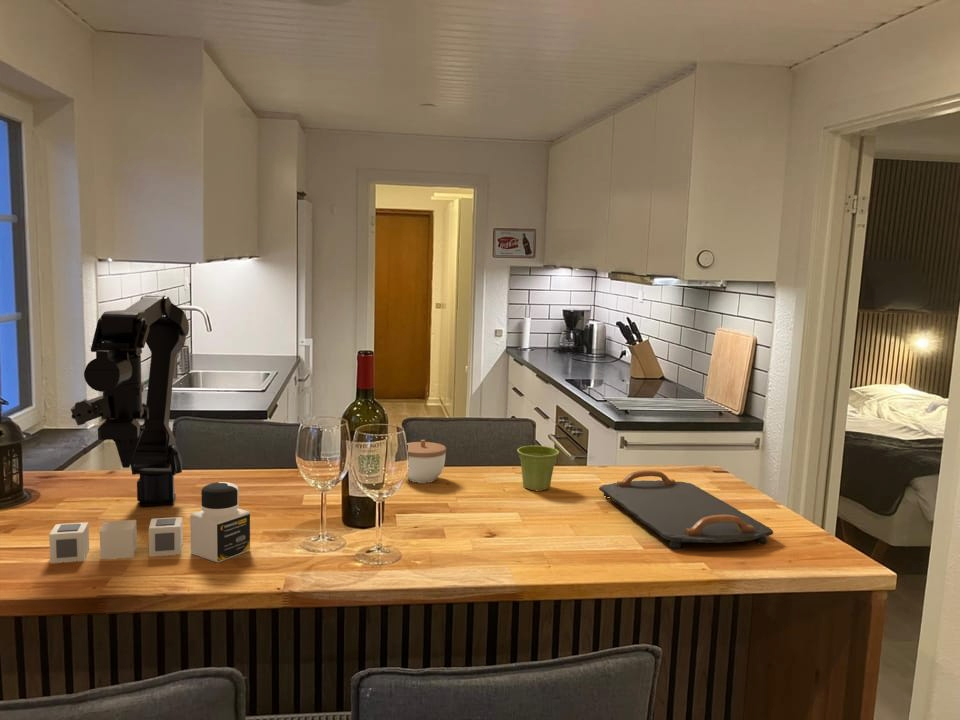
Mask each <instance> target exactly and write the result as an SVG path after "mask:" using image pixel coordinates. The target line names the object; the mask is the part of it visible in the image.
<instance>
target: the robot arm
mask: <svg viewBox="0 0 960 720" xmlns="http://www.w3.org/2000/svg"><path fill="white" fill-rule="evenodd" d="M189 330H190V324H189V320H188V318H187V315H186V313H185V311H184V310H183V309H182V308H180V307H179V306H177V305H176V304H174V303H173V302H172V300H171V299H170V297H169V296H166V295H163V294H161V295H159V294H157V295H156V294H155V295H154V294H145V295H142V296H141V297H140V299H139V300H137V301H136V302H135V303H132V304H131V305H130V306H129V307H127V308H125V309H122V310H108V311H104V312H102V314H101V316H100V317H99V318H98V320H97V322H96V326H95V330H94V334H93V339H92V342H91V347H90V352H91V353H95V358H93V359H92V360H90V361H89V362H88V363H87V365H85V366H86V367H85V369H84V371H83V377H84V380H85V382H86V385H88V386H89V387H90V388H91V389H92V390H94V391H96V392H101V393H102V395H100V396H96V397H94V398H90V399H88V400H87V399H86V398H84V399H83V400H80V401H76V402H75V403H74V405H73V406H72V407H71V408H70V411H71V418H72V419H73V420H75V423H76V425H77V426H82V425H85V423H87V422H90V421H93V420H95V419H99V418H101V417H102V419H103V420H104V421H103V422H102V423H101V424H100V425H99V426H98V428H97V440H100V441H107V440H108V441H109V440H111V441H113V442H114V444H115V446H116V450H117V454H118V456H119V461H120V463H121V466H122V468H123V469H126V468H127V469H128V468H130V469H131V474H132V475H133V476H135V475H139V478H138V479H137V481H136V501H137V502H138V506H139V507H155V506H171V505H174V504H175V500H176V496H177V494H176V492H175V476H176V475H177V474H180V473H182V472H183V458H182V455H181V454H180V451H179V449H178V446H177V444H176V442H177V441H176V437H175V435H174V433H173V431H172V430H171V428H170V415H171V414H170V413H171V406H172V405H171V403H172V392H173V384H174V383H173V382H174V372H175V363H176V356H177V355H178V354H179V353H180V351H182V349H183V348H184V347H185V344H186V337H187V336H188V335H189V332H190V331H189ZM145 345H147V347H148V349H149V351H150V353H151V354H150V364H149V371H148V372H149V373H148V374H149V375H148V384H147V391H146V392H147V393H146V402H145V403H144V402H143V394H142V393H143V392H144V385H143V384H142V353H143V349H144V348H145ZM141 418H143V420H144V421H143V423H142V424H141V423H140V422H139V420H138V419H141Z"/></svg>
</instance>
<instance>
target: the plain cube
mask: <svg viewBox="0 0 960 720" xmlns="http://www.w3.org/2000/svg"><path fill="white" fill-rule="evenodd" d="M137 539H138V537H137V519H124V520H123V519H122V520H109V521H104V522H103V524H102V526H101V528H100V530H99V550H100V551H99V555H100V557H99V558H100V561H102V560H101V559H107V560H117V558H121V559H131V558H132V559H134V557H133V556H135V553H136V550H137V547H138V545H137V544H138V541H137ZM114 558H115V559H114Z"/></svg>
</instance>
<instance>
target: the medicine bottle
mask: <svg viewBox="0 0 960 720" xmlns="http://www.w3.org/2000/svg"><path fill="white" fill-rule="evenodd" d="M200 492H201V510H198V511H196V512H193V513H191V514H190V515H189V525H190V527H189V528H190V529H189V530H190V531H189V533H190V536H189V538H190V555H191V554H192V555H193V556H197V557H199V558H202V559H205V560H208V561H212V562H215V563H221V562H224V561H226V560H229V559H232V558H235V557H238V556H240V555H242V554H245V553H248V552H250V551H251V512H250V511H249V510H244V509H241V508H239V507H240V506H239V502H240V501H239V500H240V499H239V498H240V497H239V496H240V495H239V494H240V493H239V492H240V491H239V487H238V486H237V484H235V483H232V482H227V481H218V482H212V483H209V484H207V485H205V486H203V487H202V488H201V491H200Z"/></svg>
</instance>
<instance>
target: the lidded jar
mask: <svg viewBox="0 0 960 720" xmlns="http://www.w3.org/2000/svg"><path fill="white" fill-rule="evenodd" d="M407 445H408V453H409V471H408V475H407V476H406V477H407V478H408V481H409V480H410V481H409V482H411V481H412V482H411V483H414V482H418V483H417V484H427V483H426V482H431V483H433V482H432V481H434V480H435V481H436V479H437V478H438V477H439V476H440V475H441V474H442V472H443V470H444V467H445V463H446V453H447V447H446V446H445V445H444V444H441V443H438V442H432V441H431V442H430V441H426V439H420V441H413V442H407ZM435 481H434V482H435Z"/></svg>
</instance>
